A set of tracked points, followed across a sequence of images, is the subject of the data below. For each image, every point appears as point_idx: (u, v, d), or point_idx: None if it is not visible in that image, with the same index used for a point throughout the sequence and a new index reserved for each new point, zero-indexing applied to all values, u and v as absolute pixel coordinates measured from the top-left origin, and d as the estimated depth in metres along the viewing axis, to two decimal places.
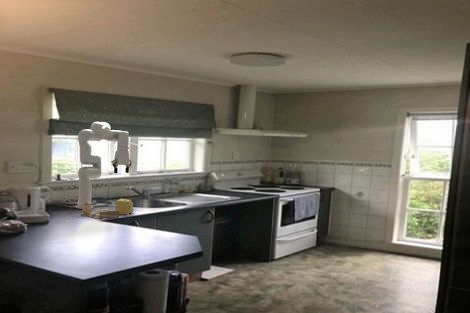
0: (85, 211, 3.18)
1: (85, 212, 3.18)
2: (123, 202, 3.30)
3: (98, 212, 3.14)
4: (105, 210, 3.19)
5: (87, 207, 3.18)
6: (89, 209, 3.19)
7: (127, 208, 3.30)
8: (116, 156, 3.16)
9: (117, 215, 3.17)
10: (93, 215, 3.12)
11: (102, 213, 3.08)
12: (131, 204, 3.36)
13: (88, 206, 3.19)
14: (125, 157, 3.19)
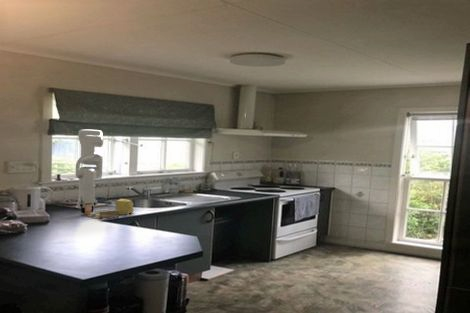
0: (85, 211, 3.18)
1: (85, 212, 3.18)
2: (123, 202, 3.30)
3: (98, 212, 3.14)
4: (105, 210, 3.19)
5: (87, 207, 3.18)
6: (89, 209, 3.19)
7: (127, 208, 3.30)
8: (81, 195, 3.17)
9: (117, 215, 3.17)
10: (93, 215, 3.12)
11: (102, 213, 3.08)
12: (131, 204, 3.36)
13: (88, 206, 3.19)
14: (91, 196, 3.20)
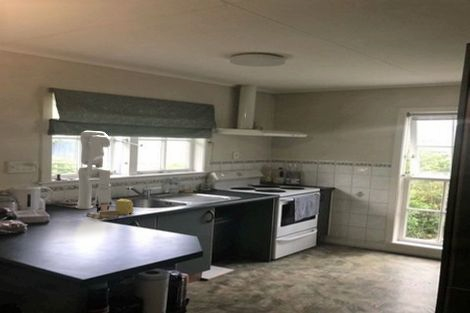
0: None
1: None
2: (123, 202, 3.30)
3: None
4: None
5: (103, 207, 3.15)
6: (105, 209, 3.16)
7: (127, 208, 3.30)
8: (97, 195, 3.14)
9: (117, 215, 3.17)
10: (93, 215, 3.12)
11: (102, 213, 3.08)
12: (131, 204, 3.36)
13: (104, 206, 3.15)
14: (106, 195, 3.17)
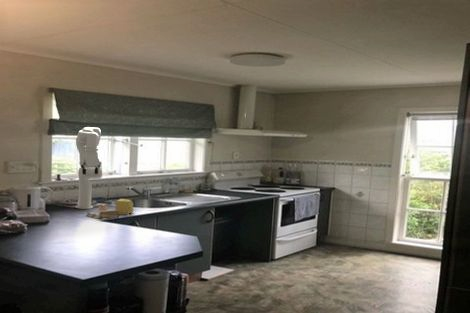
0: None
1: None
2: (123, 202, 3.30)
3: None
4: None
5: (103, 209, 3.15)
6: None
7: (127, 208, 3.30)
8: (84, 157, 3.20)
9: (117, 215, 3.17)
10: (93, 215, 3.12)
11: (102, 213, 3.08)
12: (131, 204, 3.36)
13: (104, 208, 3.15)
14: (94, 158, 3.23)
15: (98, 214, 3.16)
